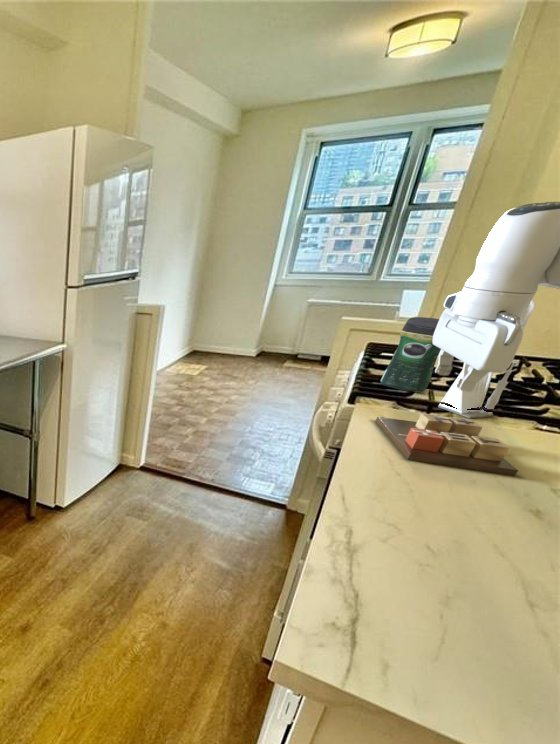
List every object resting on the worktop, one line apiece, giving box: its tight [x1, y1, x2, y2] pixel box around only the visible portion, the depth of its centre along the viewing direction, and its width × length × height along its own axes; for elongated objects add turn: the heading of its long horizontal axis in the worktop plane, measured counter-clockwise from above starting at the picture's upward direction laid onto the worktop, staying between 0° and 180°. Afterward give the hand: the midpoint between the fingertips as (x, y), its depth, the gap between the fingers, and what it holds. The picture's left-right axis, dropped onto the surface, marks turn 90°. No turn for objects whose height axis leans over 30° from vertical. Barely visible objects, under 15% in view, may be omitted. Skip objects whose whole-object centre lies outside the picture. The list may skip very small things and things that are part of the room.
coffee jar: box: [380, 316, 441, 393], centre depth 127 cm, size 10×8×19 cm
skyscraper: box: [437, 298, 536, 419], centre depth 110 cm, size 8×8×28 cm
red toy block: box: [405, 428, 444, 452], centre depth 96 cm, size 5×4×3 cm
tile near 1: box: [448, 416, 483, 438], centre depth 101 cm, size 4×4×3 cm
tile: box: [439, 432, 476, 457], centre depth 94 cm, size 4×4×3 cm
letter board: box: [375, 416, 519, 477], centre depth 100 cm, size 16×20×1 cm
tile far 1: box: [471, 435, 510, 462], centre depth 93 cm, size 4×4×3 cm
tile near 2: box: [415, 413, 452, 434], centre depth 103 cm, size 4×4×3 cm
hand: (451, 381), depth 91 cm, fingers open, 8 cm apart
